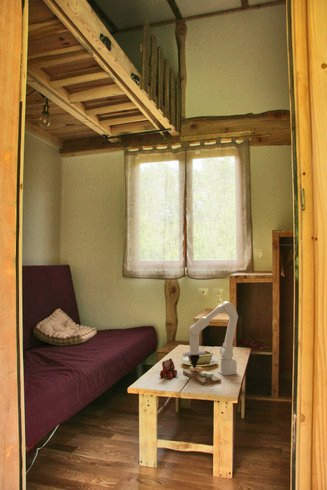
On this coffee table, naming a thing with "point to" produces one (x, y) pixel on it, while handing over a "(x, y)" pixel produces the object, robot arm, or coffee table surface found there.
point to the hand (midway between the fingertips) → (194, 367)
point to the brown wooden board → (201, 378)
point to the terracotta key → (198, 369)
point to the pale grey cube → (208, 375)
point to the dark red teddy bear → (168, 369)
